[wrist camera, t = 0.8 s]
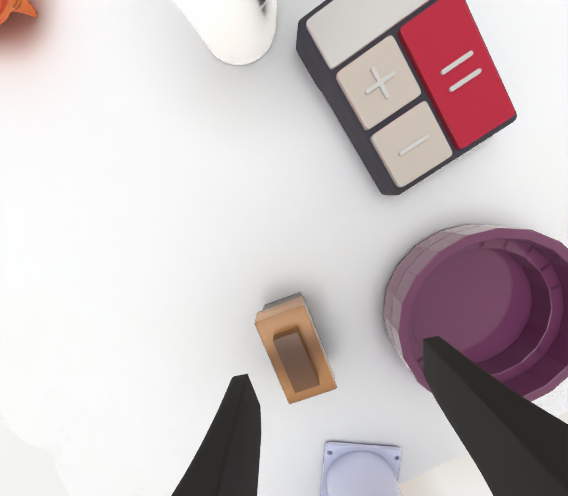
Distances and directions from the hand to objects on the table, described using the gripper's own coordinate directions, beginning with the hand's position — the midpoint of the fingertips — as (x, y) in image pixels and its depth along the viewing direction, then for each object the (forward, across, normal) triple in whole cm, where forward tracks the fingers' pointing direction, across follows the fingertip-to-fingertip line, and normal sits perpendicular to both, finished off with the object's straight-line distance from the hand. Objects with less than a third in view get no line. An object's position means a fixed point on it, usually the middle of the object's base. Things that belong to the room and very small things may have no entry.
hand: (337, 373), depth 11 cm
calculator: (+19, -11, -10) cm, 24 cm away
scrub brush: (+14, +3, +10) cm, 17 cm away
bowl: (+13, -14, +10) cm, 22 cm away
